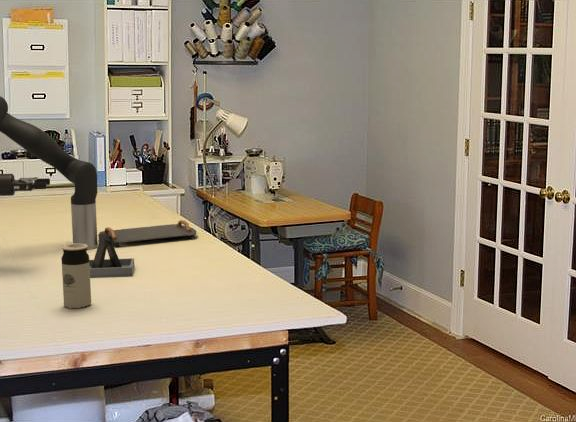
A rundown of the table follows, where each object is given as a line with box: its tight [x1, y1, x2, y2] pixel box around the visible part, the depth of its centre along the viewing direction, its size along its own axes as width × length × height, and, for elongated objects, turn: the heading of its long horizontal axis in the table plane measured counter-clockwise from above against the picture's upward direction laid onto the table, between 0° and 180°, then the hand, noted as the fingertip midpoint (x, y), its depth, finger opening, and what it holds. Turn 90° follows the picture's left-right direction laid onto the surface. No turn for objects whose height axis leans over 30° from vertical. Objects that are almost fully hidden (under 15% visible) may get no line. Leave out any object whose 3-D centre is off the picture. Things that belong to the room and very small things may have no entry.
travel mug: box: [61, 243, 92, 309], centre depth 274 cm, size 8×8×18 cm
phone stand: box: [92, 233, 122, 268], centre depth 315 cm, size 9×6×12 cm, turn 119°
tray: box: [89, 257, 135, 279], centre depth 315 cm, size 14×17×3 cm
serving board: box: [97, 219, 197, 248], centre depth 370 cm, size 39×23×6 cm, turn 117°
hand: (48, 183), depth 317 cm, fingers open, 8 cm apart
